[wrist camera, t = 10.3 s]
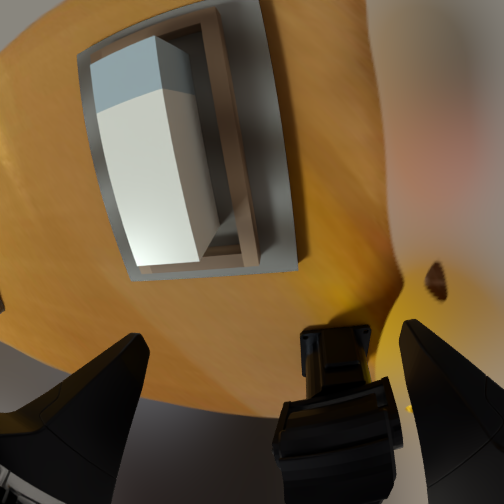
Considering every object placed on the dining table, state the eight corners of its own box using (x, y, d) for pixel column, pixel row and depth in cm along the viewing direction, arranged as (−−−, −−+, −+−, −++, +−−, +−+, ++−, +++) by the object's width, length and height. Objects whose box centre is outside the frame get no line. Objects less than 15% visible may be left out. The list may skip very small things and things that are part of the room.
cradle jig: (297, 263, 21) (298, 282, 18) (136, 275, 23) (123, 291, 21) (257, -4, 12) (253, -20, 10) (84, 56, 14) (64, 53, 12)
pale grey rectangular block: (220, 225, 19) (199, 261, 14) (168, 231, 19) (137, 266, 15) (188, 54, 14) (154, 35, 9) (134, 72, 14) (90, 64, 10)
